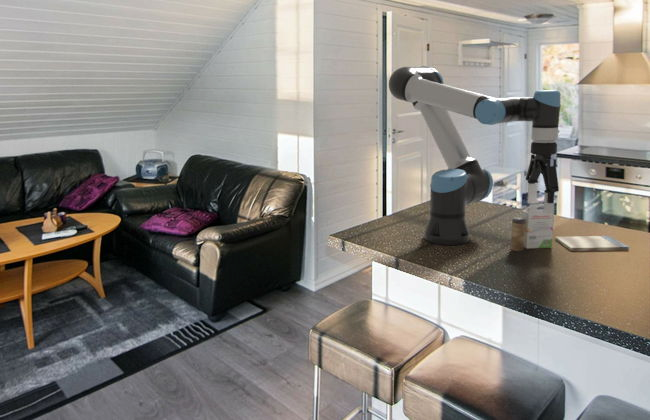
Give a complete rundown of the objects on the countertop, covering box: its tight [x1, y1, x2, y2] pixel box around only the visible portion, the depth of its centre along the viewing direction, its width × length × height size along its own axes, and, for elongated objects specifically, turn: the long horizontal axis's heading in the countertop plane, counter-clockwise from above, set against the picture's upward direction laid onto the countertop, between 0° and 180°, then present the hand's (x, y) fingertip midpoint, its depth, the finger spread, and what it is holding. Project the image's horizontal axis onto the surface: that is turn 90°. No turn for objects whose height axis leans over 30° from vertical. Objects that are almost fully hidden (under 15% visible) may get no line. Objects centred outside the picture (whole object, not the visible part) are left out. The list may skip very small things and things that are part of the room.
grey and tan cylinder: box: [509, 217, 526, 252], centre depth 165 cm, size 4×4×10 cm
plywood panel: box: [554, 235, 630, 252], centre depth 168 cm, size 18×12×1 cm, turn 89°
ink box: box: [521, 203, 555, 249], centre depth 167 cm, size 9×5×15 cm, turn 92°
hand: (539, 207), depth 165 cm, fingers open, 13 cm apart
